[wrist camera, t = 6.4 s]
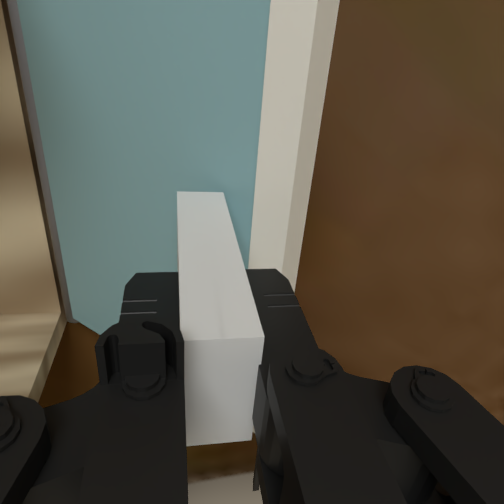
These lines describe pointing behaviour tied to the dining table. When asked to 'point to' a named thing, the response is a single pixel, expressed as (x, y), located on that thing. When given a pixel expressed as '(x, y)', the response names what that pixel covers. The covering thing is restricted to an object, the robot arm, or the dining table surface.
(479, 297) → the dining table surface
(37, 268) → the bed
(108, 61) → the light blue flat panel
